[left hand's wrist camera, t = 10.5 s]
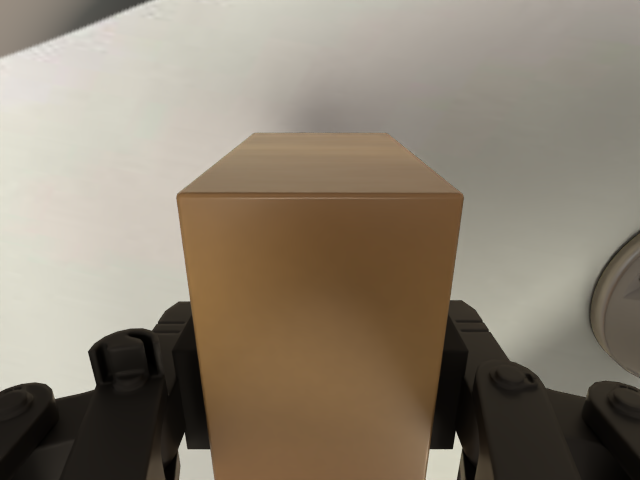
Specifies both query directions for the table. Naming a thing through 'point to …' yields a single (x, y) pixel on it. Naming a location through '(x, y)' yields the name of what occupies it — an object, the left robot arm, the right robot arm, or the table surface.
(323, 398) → the beam
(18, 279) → the table surface
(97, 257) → the table surface
